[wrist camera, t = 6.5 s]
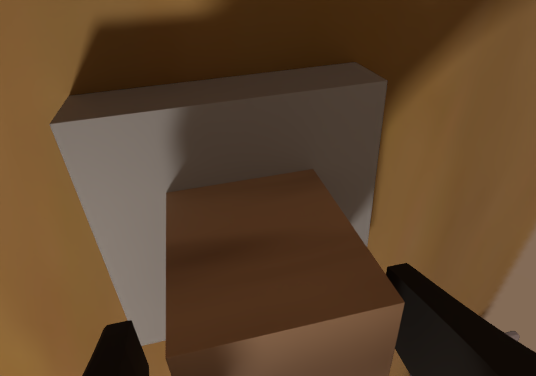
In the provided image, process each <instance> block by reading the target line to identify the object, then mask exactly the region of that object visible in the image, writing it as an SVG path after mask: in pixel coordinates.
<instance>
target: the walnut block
mask: <svg viewBox="0 0 536 376" xmlns="http://www.w3.org/2000/svg"><path fill="white" fill-rule="evenodd" d="M404 304H405V302H404V301H403V299H402V298H401V296H400V295H399V293H398V292H397V290H396V289H395V287H394V286H393V285H392V283H391V282H390V280H389V279H388V277H387V276H386V274H385V273H384V271H383V270H382V269H381V267H380V266H379V264H378V263H377V261H376V260H375V258H374V257H373V255H372V254H371V252H370V251H369V250H368V248H367V247H366V245H365V244H364V242H363V241H362V239H361V238H360V236H359V235H358V234H357V232H356V231H355V229H354V228H353V226H352V225H351V223H350V222H349V220H348V219H347V218H346V216H345V215H344V213H343V212H342V210H341V209H340V207H339V206H338V204H337V203H336V201H335V200H334V199H333V197H332V196H331V194H330V193H329V191H328V190H327V188H326V187H325V185H324V184H323V183H322V181H321V180H320V178H319V177H318V175H317V174H316V172H315V171H314V169H310V170H304V171H297V172H291V173H285V174H279V175H273V176H267V177H260V178H254V179H248V180H242V181H236V182H230V183H223V184H217V185H211V186H205V187H199V188H193V189H186V190H180V191H174V192H168V193H166V361H167V364H168V367H169V370H170V373H171V376H389V373H390V368H391V364H392V359H393V354H394V350H395V345H396V341H397V336H398V331H399V327H400V322H401V318H402V313H403V308H404Z"/></svg>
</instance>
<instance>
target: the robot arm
mask: <svg viewBox="0 0 536 376" xmlns="http://www.w3.org/2000/svg"><path fill="white" fill-rule="evenodd" d="M386 276H387V277H388V279H389V280H390V282H391V283H392V285H393V286H394V287H395V289H396V290H397V292H398V293H399V295H400V296H401V298H402V299H403V301H404V302H405V304H404V308H403V313H402V318H401V322H400V327H399V331H398V336H397V341H396V345H395V349H396V351H397V353H398V354H399V356H400V358H401V359H402V361H403V363H404V365H405V366H406V368H407V370H408V371H409V373H410V375H411V376H536V353H535V352H534V351H532V350H530V349H529V348H527V347H525V346H524V345H522V344H521V343H519V342H518V340H519V335H518V334H517V332H515V331H510V332H507V333H504V332H502V331H501V330H499V329H497V328H496V327H495V326H493V325H492V324H490V323H489V322H487V321H486V320H484V319H483V318H481V317H480V316H479V315H477V314H476V313H474V312H473V311H471V310H470V309H469V308H467V307H466V306H464V305H463V304H462V303H460V302H459V301H458V300H456V299H455V298H453V297H452V296H451V295H449V294H448V293H447V292H445V291H444V290H443V289H441V288H440V287H438V286H437V285H436V284H434V283H433V282H432V281H430V280H429V279H428V278H426V277H425V276H424V275H422V274H421V273H420V272H418V271H417V270H416V269H414V268H413V267H412V266H410V265H409V264H407V263H404V264H399V265H394V266H389V267H387V272H386ZM82 376H149V365H148V363H147V360H146V357H145V355H144V352H143V349H142V347H141V344H140V341H139V339H138V336H137V333H136V331H135V328H134V325H133V323H132V320H129V321H125V322H120V323H115V324H110V325H107V326H106V327H105V328H104V330H103V332H102V334H101V337H100V339H99V341H98V343H97V346H96V348H95V350H94V352H93V354H92V357H91V359H90V361H89V363H88V365H87V367H86V369H85V371H84V373H83V375H82Z"/></svg>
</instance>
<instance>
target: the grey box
mask: <svg viewBox="0 0 536 376" xmlns="http://www.w3.org/2000/svg"><path fill="white" fill-rule="evenodd" d="M386 89H387V80H386V79H384V78H382V77H380V76H379V75H377V74H375V73H373V72H372V71H370V70H368V69H367V68H365V67H363V66H361V65H360V64H358V63H356V62H352V63H343V64H335V65H326V66H318V67H309V68H301V69H292V70H284V71H275V72H267V73H258V74H250V75H241V76H233V77H224V78H216V79H207V80H199V81H190V82H181V83H173V84H164V85H156V86H147V87H139V88H130V89H122V90H113V91H105V92H96V93H88V94H79V95H71V96H68V98H67V99H66V101H65V102H64V104H63V105H62V107H61V108H60V110H59V111H58V113H57V114H56V115H55V117H54V118H53V120H52V121H51V123H50V126H51V129H52V132H53V134H54V137H55V139H56V142H57V144H58V147H59V149H60V152H61V154H62V157H63V159H64V162H65V164H66V167H67V169H68V172H69V174H70V177H71V179H72V182H73V184H74V187H75V189H76V192H77V194H78V197H79V199H80V202H81V204H82V207H83V209H84V212H85V214H86V217H87V219H88V222H89V224H90V227H91V229H92V232H93V234H94V237H95V239H96V242H97V244H98V247H99V249H100V252H101V254H102V257H103V259H104V262H105V264H106V267H107V269H108V272H109V275H110V277H111V280H112V282H113V285H114V287H115V290H116V292H117V295H118V297H119V300H120V302H121V305H122V307H123V310H124V312H125V315H126V317H127V320H128V321H129V320H132V323H133V325H134V328H135V331H136V333H137V336H138V339H139V341H140V344H141V346H143V345H147V344H151V343H156V342H160V341H165V340H166V193H168V192H174V191H180V190H186V189H193V188H199V187H205V186H211V185H217V184H223V183H230V182H236V181H242V180H248V179H254V178H260V177H267V176H273V175H279V174H285V173H291V172H297V171H304V170H310V169H314V171H315V172H316V174H317V175H318V177H319V178H320V180H321V181H322V183H323V184H324V185H325V187H326V188H327V190H328V191H329V193H330V194H331V196H332V197H333V199H334V200H335V201H336V203H337V204H338V206H339V207H340V209H341V210H342V212H343V213H344V215H345V216H346V218H347V219H348V220H349V222H350V223H351V225H352V226H353V228H354V229H355V231H356V232H357V234H358V235H359V236H360V238H361V239H362V241H363V242H364V244H365V245H366V247H367V244H368V236H369V228H370V220H371V211H372V203H373V195H374V187H375V179H376V171H377V162H378V154H379V146H380V138H381V130H382V122H383V114H384V105H385V97H386Z"/></svg>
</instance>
